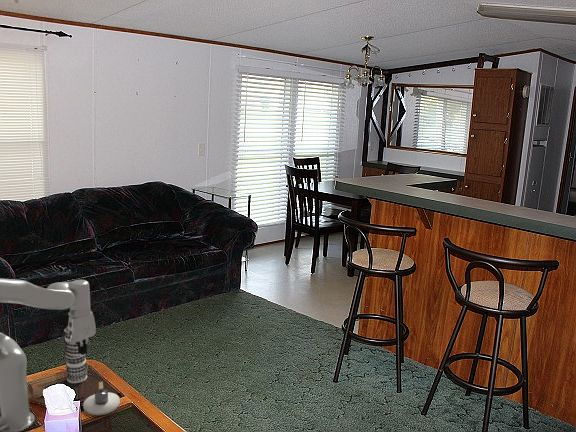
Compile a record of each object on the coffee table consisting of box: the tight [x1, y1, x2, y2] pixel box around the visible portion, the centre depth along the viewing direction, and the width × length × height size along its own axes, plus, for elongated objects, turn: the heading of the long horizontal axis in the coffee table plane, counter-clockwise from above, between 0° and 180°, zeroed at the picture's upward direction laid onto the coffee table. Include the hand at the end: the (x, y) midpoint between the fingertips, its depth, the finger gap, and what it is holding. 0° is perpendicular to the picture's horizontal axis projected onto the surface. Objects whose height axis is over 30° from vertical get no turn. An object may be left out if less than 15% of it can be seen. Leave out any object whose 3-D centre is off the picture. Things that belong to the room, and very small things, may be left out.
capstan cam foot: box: [94, 381, 109, 405], centre depth 224 cm, size 10×5×5 cm, turn 20°
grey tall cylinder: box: [63, 325, 88, 384], centre depth 238 cm, size 9×9×25 cm
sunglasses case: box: [27, 383, 46, 407], centre depth 225 cm, size 18×7×7 cm, turn 73°
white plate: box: [83, 391, 121, 416], centre depth 222 cm, size 14×14×2 cm
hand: (82, 353), depth 221 cm, fingers closed
